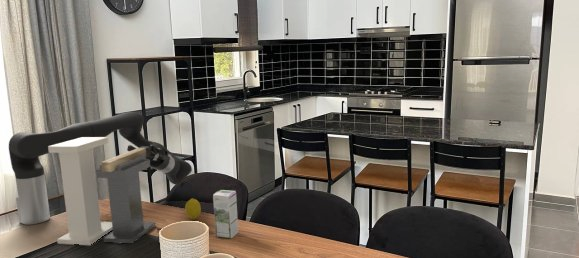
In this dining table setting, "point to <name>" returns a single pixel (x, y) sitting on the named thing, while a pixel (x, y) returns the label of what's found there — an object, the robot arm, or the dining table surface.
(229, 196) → the syrup box
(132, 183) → the holder
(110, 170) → the bar
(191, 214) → the lemon
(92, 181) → the white i-beam pedestal
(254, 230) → the dining table surface
